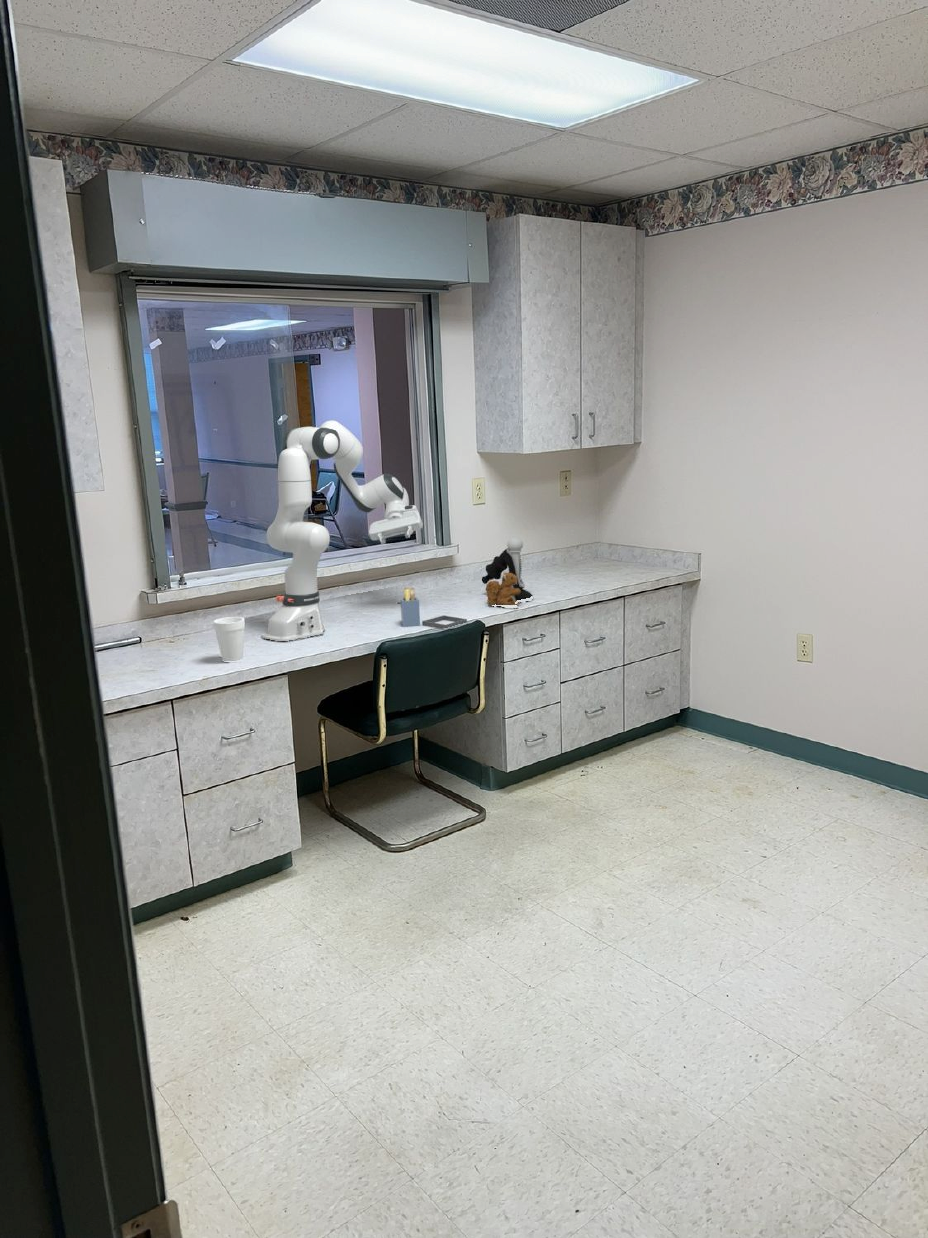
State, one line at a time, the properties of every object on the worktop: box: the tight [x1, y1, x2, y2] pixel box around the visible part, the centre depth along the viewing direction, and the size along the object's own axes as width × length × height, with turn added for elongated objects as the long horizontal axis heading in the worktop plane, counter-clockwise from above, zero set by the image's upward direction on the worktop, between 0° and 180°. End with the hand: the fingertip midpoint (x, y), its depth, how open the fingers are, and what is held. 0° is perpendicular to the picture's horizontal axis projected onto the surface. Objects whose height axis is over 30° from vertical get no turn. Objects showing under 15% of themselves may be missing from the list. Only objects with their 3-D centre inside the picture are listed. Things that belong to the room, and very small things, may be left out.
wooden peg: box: [409, 587, 416, 600], centre depth 327 cm, size 2×2×13 cm
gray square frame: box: [421, 615, 468, 630], centre depth 327 cm, size 11×11×2 cm
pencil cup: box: [400, 596, 421, 628], centre depth 327 cm, size 6×6×10 cm
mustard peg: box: [404, 589, 411, 601], centre depth 325 cm, size 2×2×13 cm
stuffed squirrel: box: [485, 572, 521, 606], centre depth 355 cm, size 10×14×13 cm
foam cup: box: [213, 616, 246, 661], centre depth 289 cm, size 10×9×13 cm
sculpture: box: [481, 537, 534, 600], centre depth 368 cm, size 15×24×25 cm, turn 51°
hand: (395, 539), depth 336 cm, fingers open, 8 cm apart
